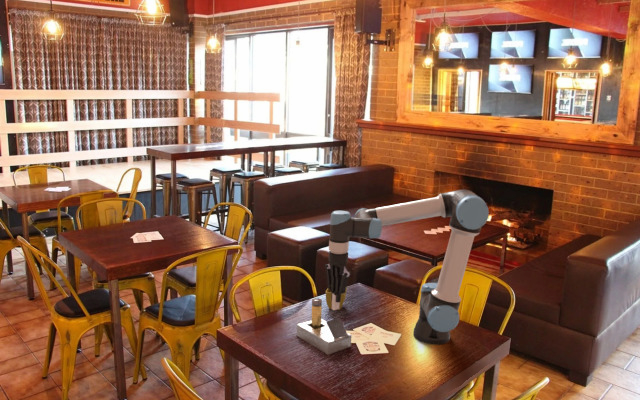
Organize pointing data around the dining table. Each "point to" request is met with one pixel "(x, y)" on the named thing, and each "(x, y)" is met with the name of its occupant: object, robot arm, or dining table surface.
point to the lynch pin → (316, 313)
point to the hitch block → (321, 337)
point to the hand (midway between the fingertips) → (335, 308)
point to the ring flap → (337, 330)
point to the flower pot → (329, 300)
